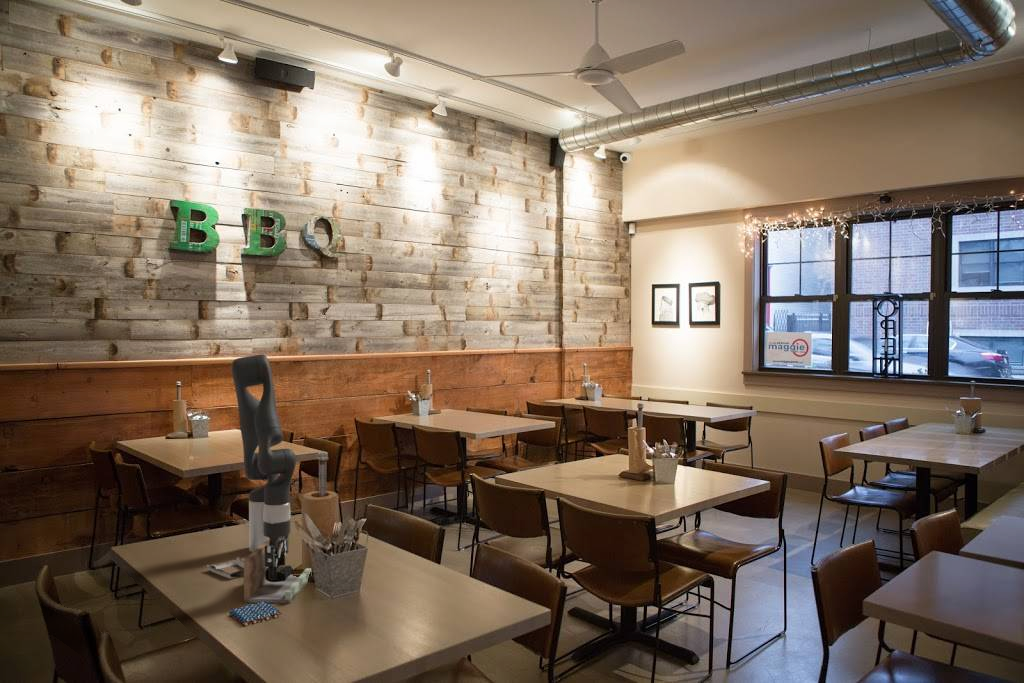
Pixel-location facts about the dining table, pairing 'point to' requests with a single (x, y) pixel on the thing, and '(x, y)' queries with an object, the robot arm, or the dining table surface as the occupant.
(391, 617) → the dining table surface
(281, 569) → the tape measure
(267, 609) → the woven mat
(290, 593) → the cleat board
